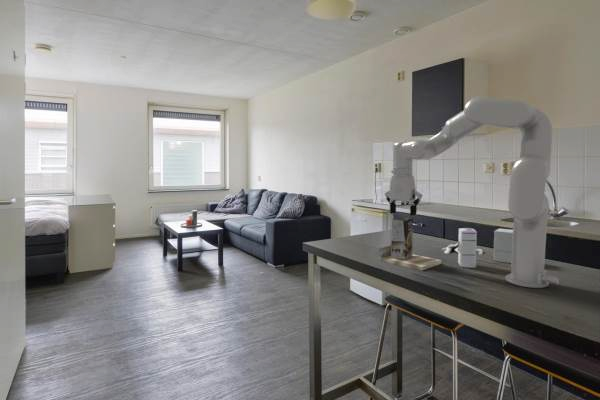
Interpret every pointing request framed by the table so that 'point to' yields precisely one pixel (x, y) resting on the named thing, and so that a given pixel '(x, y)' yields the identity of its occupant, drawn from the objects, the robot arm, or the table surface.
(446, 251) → the cloth
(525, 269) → the robot arm
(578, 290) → the table surface
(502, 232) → the supplement box
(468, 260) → the syrup box
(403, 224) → the coffee box
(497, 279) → the table surface
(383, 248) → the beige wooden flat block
